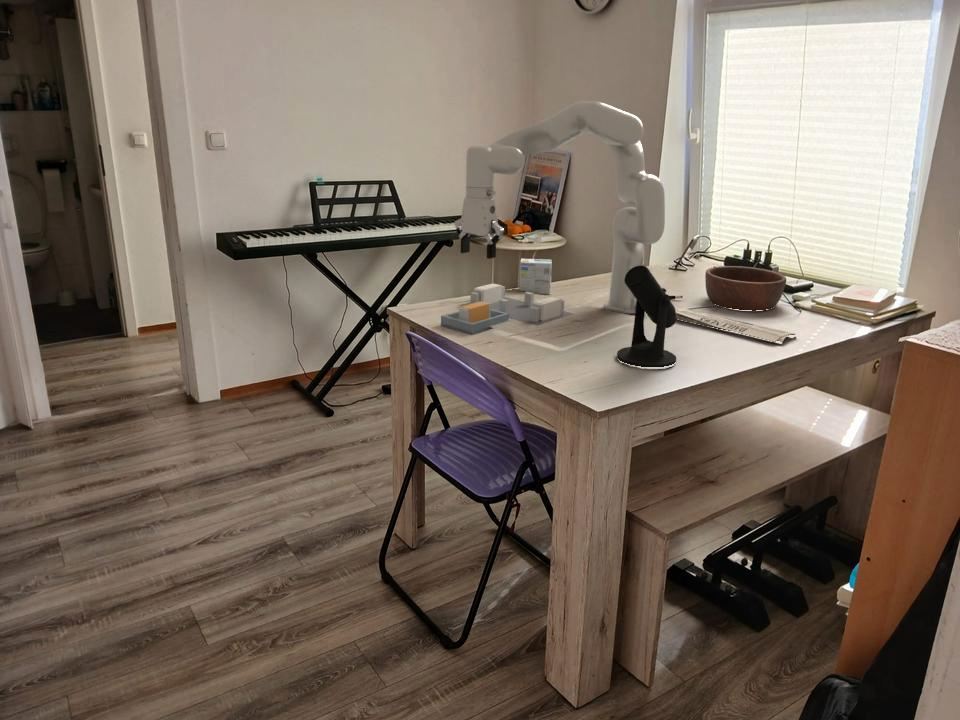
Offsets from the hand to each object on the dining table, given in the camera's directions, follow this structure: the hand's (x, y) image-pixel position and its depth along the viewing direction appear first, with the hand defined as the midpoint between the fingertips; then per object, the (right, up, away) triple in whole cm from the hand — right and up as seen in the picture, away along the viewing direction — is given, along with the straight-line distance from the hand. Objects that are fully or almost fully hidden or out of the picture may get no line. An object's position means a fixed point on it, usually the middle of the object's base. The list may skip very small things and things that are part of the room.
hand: (477, 255), depth 216 cm
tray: (-1, -19, +6) cm, 20 cm away
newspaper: (+73, -21, +10) cm, 77 cm away
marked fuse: (-1, -18, +6) cm, 19 cm away
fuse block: (+12, -15, +20) cm, 28 cm away
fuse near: (+20, -17, +13) cm, 29 cm away
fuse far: (+3, -11, +27) cm, 29 cm away
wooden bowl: (+86, -11, +37) cm, 95 cm away
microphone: (+43, -30, -19) cm, 55 cm away
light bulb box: (+19, -6, +45) cm, 50 cm away
